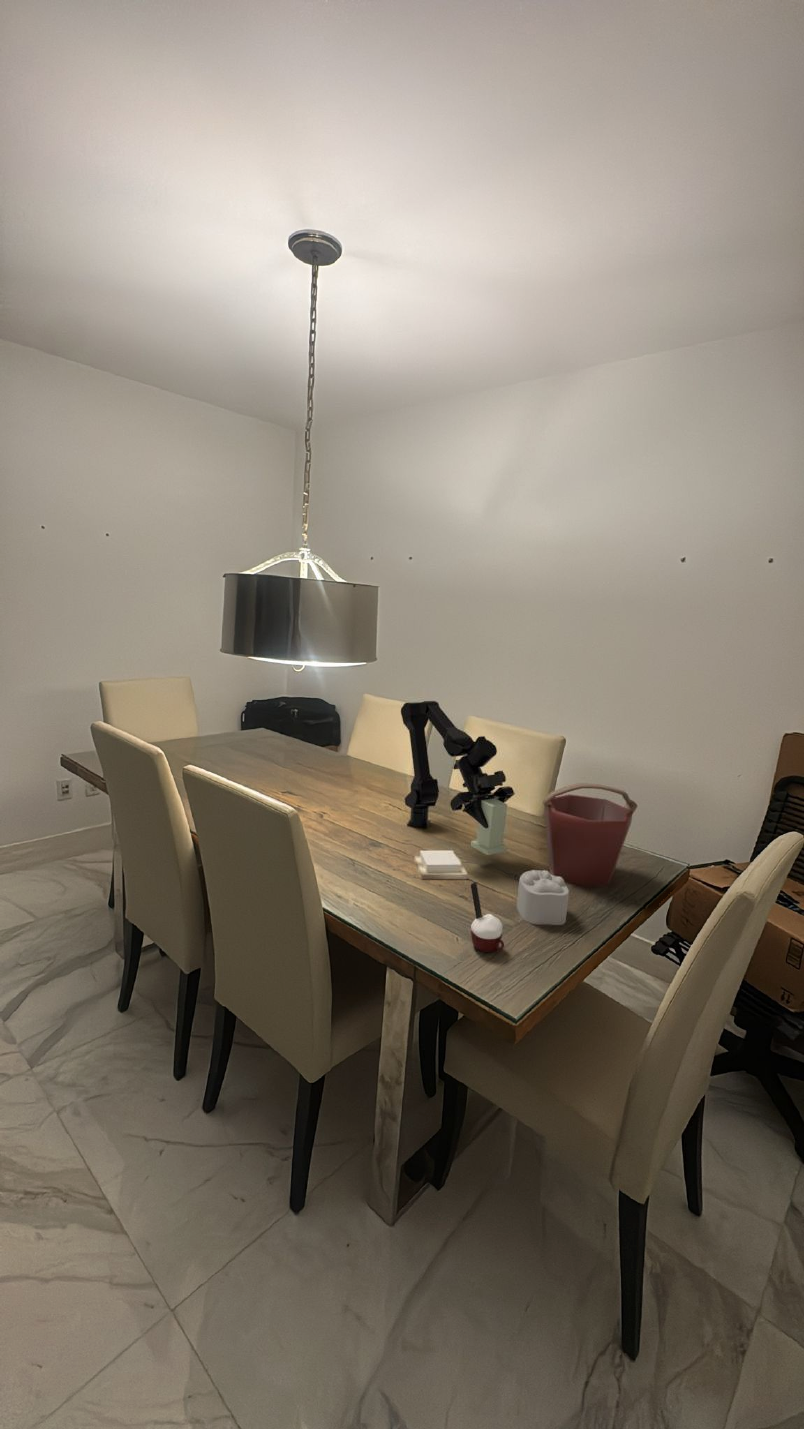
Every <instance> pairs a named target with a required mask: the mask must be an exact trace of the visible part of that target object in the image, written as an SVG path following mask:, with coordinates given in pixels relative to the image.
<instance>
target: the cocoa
mask: <svg viewBox="0 0 804 1429" xmlns="http://www.w3.org/2000/svg"><path fill="white" fill-rule="evenodd" d="M470 889H471V895H472V900H473V907H474V911H475V919H474V920H473V921H472V923H471V926H470V930H471V931H470V936H471V941H472V944H473V946H474V948H476V949H477V950H478V951H480V952H484V953H492V952H500V951H501V950H503V949H504V948H505V941H503V940H502V937H503V923H502V921H500V919H499V918H498V917H496V916H494V915H493V914H491V913H487V914H485V915H483V913H482V908H481V902H480V896H479V890H478V884H477V882H476V881H475V882H472V883H471V884H470ZM500 945H501V946H500ZM499 946H500V947H499Z"/></svg>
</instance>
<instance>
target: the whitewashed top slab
mask: <svg viewBox="0 0 804 1429" xmlns="http://www.w3.org/2000/svg"><path fill="white" fill-rule="evenodd" d="M419 855H420V859H421V861H422V864H423V866H424V868H425V870H426V872H460V869H461V864H460V862H459V860H460V859H459V860H458V859H457V857H456V854H455V853H454V850H420V852H419Z"/></svg>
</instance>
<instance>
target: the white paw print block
mask: <svg viewBox="0 0 804 1429" xmlns="http://www.w3.org/2000/svg"><path fill="white" fill-rule="evenodd" d="M565 882H566V881H564V880H563V878H562V877H559V876H558V877H557V876H554V875H553V873H552V874H551V873H550V872H549V871H548V870H536V869H532V870H528V871H524V872H523V873H522V874H521V875H520V877H519V882H518V890H517V898H516V899H517V900H516V909H517V911H518V913H519V914H520V916H521V917H522V919H523V920H524V921H526V922H528V923H530V924H531V925H532V924H533V925H552V926H553V925H554V926H562V925H564V924H565V923H566V920H567V914H568V913H567V911H568V905H569V897H570V896H569V895H570V890H569V888H568V886H567V885H566V883H565Z"/></svg>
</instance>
